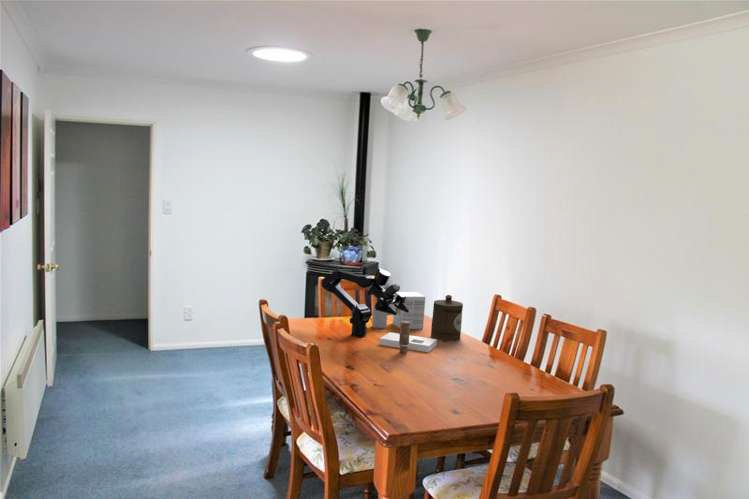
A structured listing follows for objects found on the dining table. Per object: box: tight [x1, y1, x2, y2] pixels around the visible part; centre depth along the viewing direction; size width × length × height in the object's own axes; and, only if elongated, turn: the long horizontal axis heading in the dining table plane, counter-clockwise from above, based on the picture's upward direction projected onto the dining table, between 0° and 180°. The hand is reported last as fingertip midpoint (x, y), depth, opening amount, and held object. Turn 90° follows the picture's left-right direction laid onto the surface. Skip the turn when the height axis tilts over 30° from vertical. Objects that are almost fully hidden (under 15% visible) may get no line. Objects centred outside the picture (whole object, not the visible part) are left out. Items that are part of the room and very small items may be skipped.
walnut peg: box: [399, 321, 411, 355], centre depth 291 cm, size 5×5×14 cm
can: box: [371, 305, 388, 330], centre depth 337 cm, size 8×8×12 cm
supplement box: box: [392, 291, 426, 330], centre depth 344 cm, size 13×13×18 cm
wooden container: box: [430, 294, 464, 342], centre depth 323 cm, size 15×15×22 cm
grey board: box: [379, 332, 438, 353], centre depth 306 cm, size 24×14×3 cm, turn 70°
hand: (402, 313), depth 300 cm, fingers open, 9 cm apart
